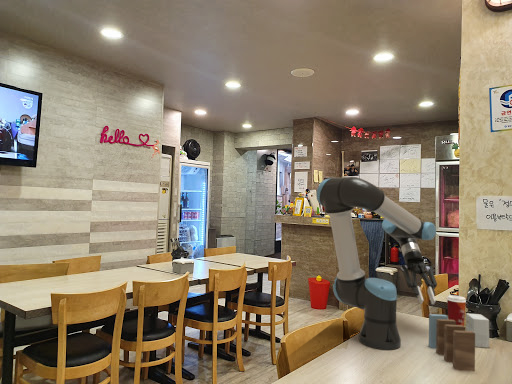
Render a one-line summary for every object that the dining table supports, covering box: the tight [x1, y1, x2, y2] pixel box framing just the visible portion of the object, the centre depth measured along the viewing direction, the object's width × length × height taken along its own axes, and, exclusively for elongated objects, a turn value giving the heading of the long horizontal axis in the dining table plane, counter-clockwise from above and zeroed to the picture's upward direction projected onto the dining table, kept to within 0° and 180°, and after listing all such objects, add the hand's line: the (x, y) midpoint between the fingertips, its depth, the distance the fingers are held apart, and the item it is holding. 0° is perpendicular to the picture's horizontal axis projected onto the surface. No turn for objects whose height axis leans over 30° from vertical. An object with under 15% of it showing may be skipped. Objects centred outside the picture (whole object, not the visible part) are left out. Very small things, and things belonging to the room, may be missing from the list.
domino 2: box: [443, 325, 466, 363], centre depth 127 cm, size 2×6×12 cm, turn 88°
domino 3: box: [452, 330, 476, 372], centre depth 121 cm, size 2×6×12 cm, turn 89°
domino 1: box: [435, 319, 456, 356], centre depth 133 cm, size 2×6×12 cm, turn 89°
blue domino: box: [428, 313, 448, 349], centre depth 139 cm, size 2×6×12 cm, turn 89°
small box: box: [465, 312, 490, 349], centre depth 144 cm, size 8×6×10 cm
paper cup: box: [446, 294, 467, 327], centre depth 160 cm, size 8×8×14 cm
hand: (427, 302), depth 148 cm, fingers open, 4 cm apart
